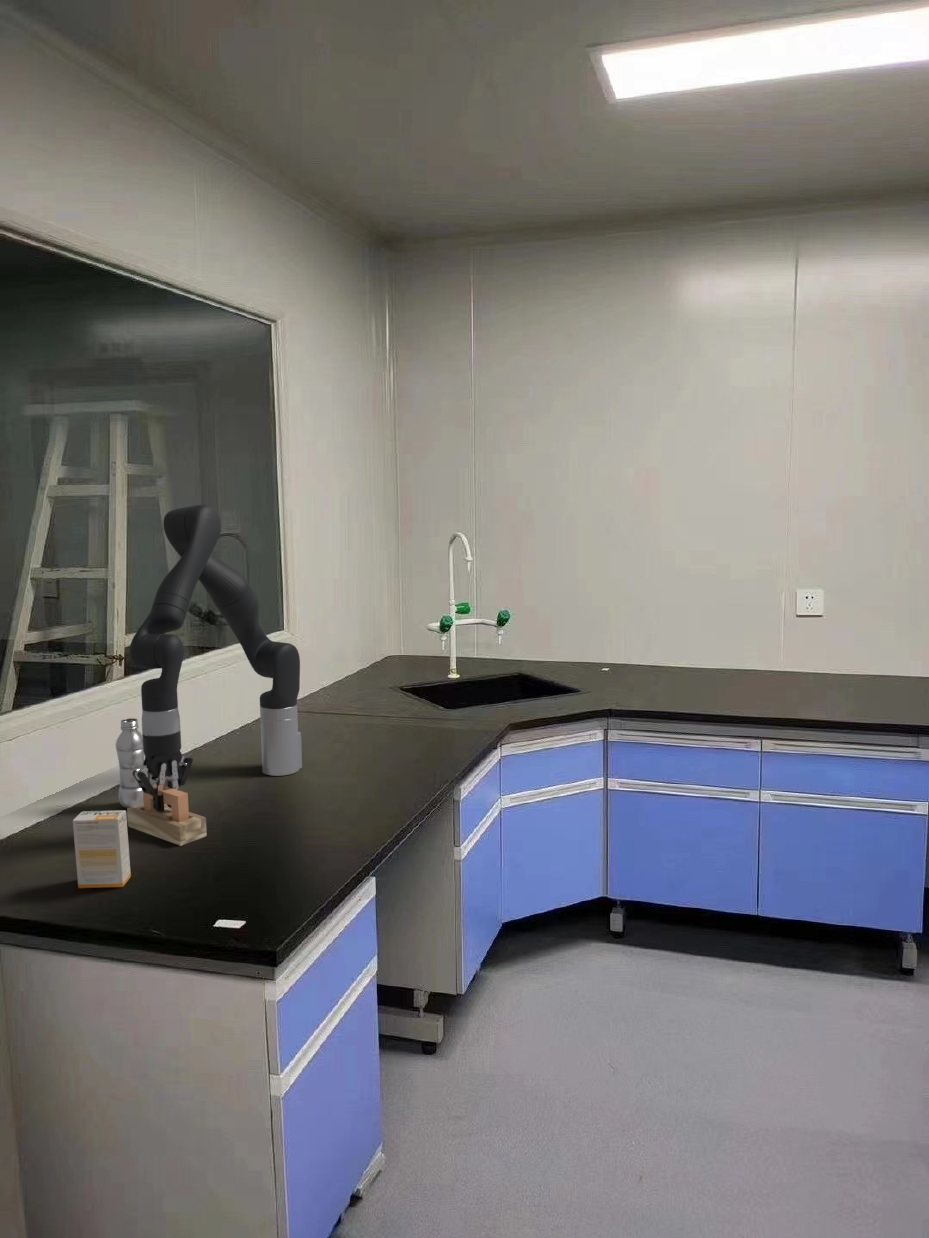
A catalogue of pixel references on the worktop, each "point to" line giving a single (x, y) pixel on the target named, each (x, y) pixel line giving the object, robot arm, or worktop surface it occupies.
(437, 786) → the worktop surface
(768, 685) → the worktop surface
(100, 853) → the supplement box
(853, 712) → the worktop surface
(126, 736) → the metal bottle
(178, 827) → the rail
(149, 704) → the robot arm
